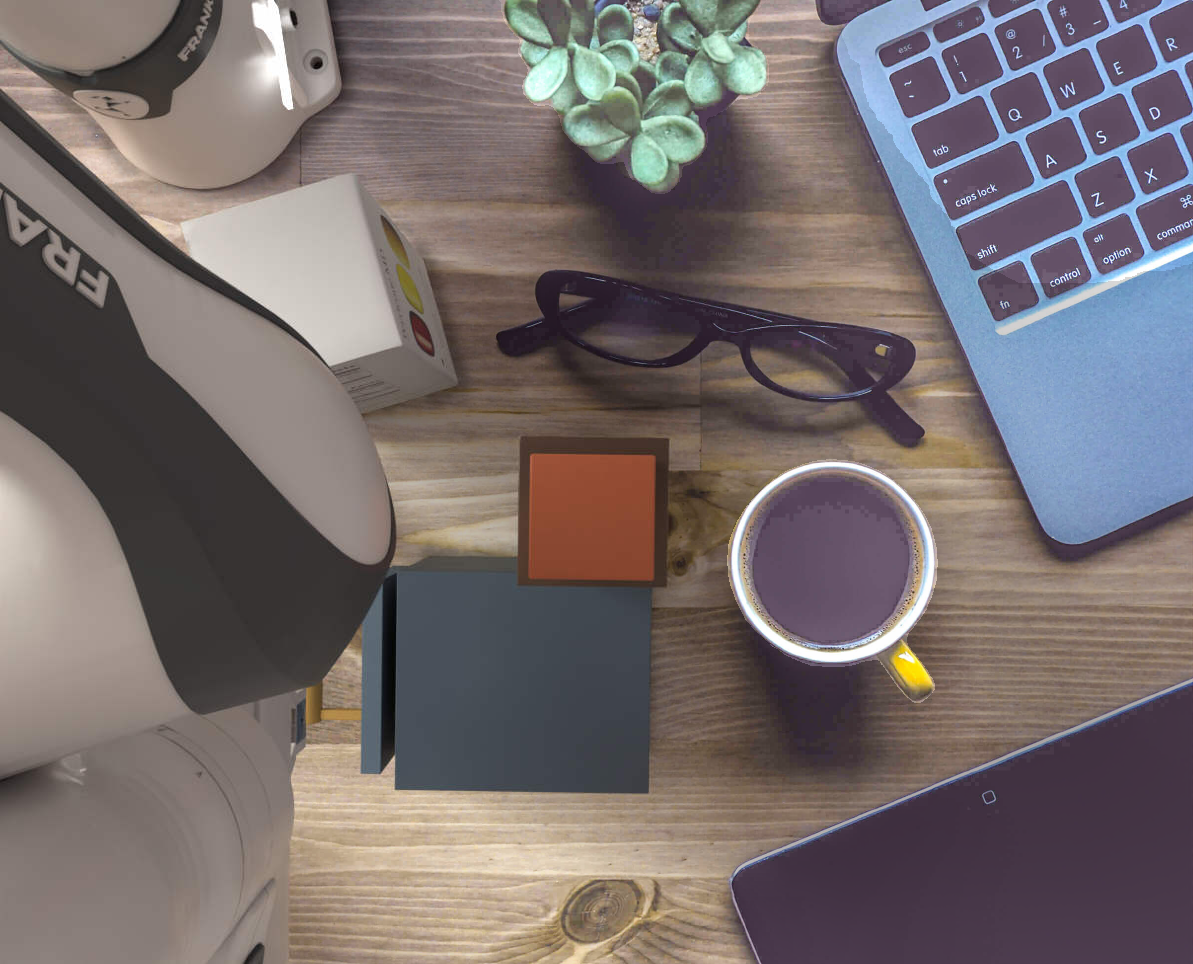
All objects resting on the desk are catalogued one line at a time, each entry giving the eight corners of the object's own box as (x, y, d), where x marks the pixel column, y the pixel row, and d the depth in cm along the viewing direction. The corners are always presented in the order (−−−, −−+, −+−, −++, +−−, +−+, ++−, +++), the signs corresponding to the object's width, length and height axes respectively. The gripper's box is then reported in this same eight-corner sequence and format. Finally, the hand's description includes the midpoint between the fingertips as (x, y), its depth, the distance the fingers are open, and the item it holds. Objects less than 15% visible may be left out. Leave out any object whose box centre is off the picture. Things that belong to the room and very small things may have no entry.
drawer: (320, 734, 60) (278, 772, 52) (321, 564, 60) (280, 577, 52) (592, 738, 60) (591, 777, 52) (595, 568, 60) (594, 582, 52)
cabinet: (426, 740, 61) (394, 790, 51) (428, 555, 61) (396, 571, 51) (641, 743, 61) (648, 794, 51) (643, 558, 61) (652, 574, 51)
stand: (552, 451, 61) (519, 435, 36) (641, 452, 61) (669, 437, 36) (551, 539, 61) (516, 585, 36) (639, 540, 61) (667, 588, 36)
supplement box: (462, 386, 61) (408, 353, 44) (331, 425, 61) (228, 406, 44) (422, 250, 61) (353, 164, 44) (291, 289, 61) (173, 218, 44)
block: (538, 455, 36) (530, 453, 31) (649, 457, 36) (656, 455, 31) (537, 566, 36) (528, 579, 31) (647, 567, 36) (653, 581, 31)
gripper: (55, 514, 30) (228, 501, 44) (51, 1124, 30) (224, 918, 44) (244, 517, 30) (357, 503, 44) (239, 1127, 30) (352, 920, 44)
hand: (290, 715), depth 44 cm, fingers closed
